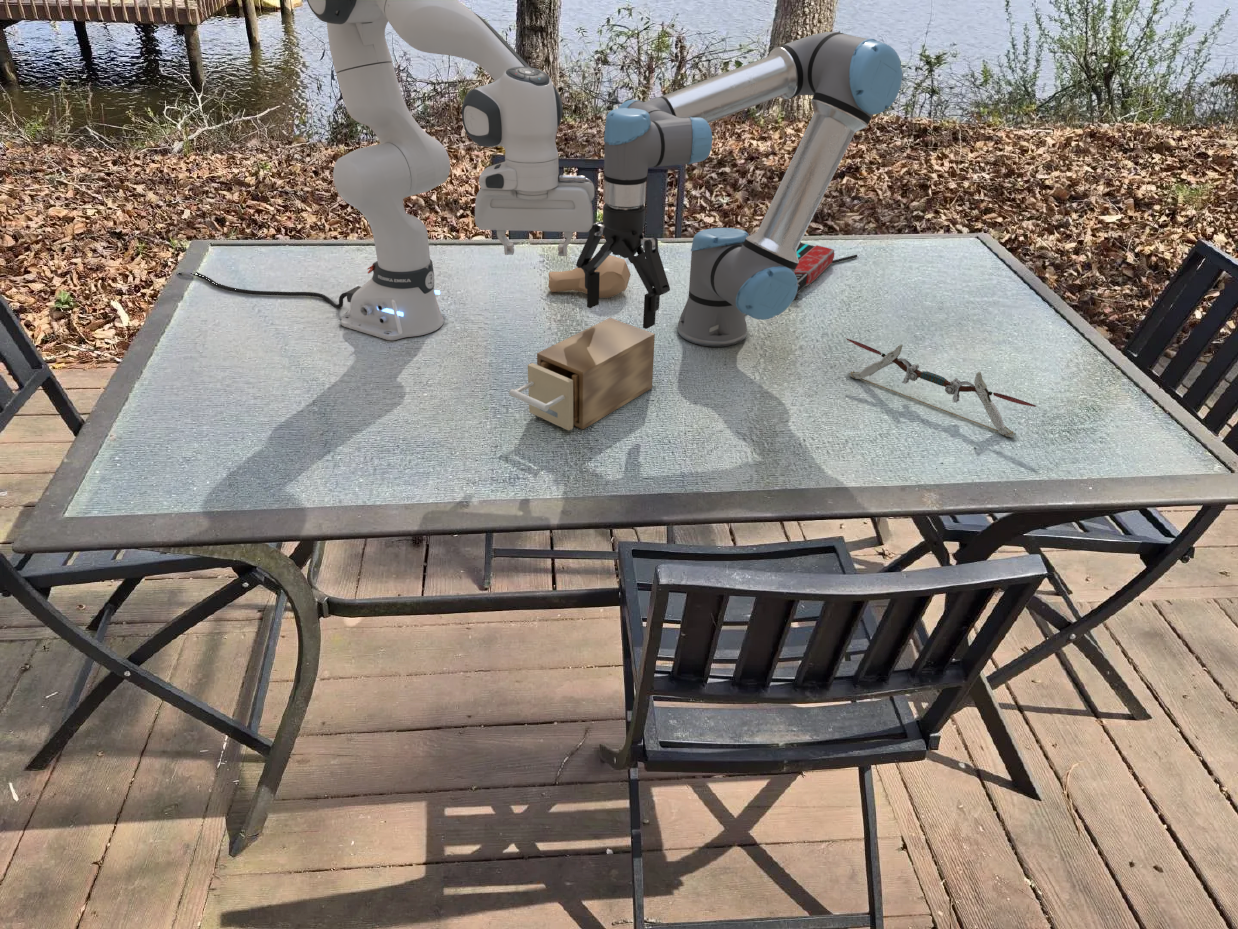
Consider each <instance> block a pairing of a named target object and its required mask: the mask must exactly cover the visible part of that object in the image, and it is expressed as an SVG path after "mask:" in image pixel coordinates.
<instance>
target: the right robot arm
mask: <svg viewBox="0 0 1238 929" xmlns="http://www.w3.org/2000/svg"><path fill="white" fill-rule="evenodd" d="M901 66H902V60H901V59H900V56H899V54H898V52H897V51H896V49H895V48H894V47H892V46H891V45H889V44H887V43H885V42H882V41H879V40H876V39H875V38H866V37H863V36H862V37H861V36H856V35H851V34H846V33H843V32H839V31H825V32H820V33H815V34H812V35H808V36H804V37H802V38H799V39H796V40H794V41H791V42H787V43H784V44H782V45H780V46H777V47H774V48H772V50H771V51H770V52H769V54H768V56H766V57H763V58H760V59H758V60H756V61H752V62H750V63H747V64H745V65H742V66H740V67H736V68H734V69H731V70H729V71H725V72H722V73H721V74H718V75H715V76H712V77H709V78H707V79H704V80H701V81H699V82H695V83H694V84H691V85H688V86H685V87H682V88H680V89H676V90H675V91H672V92H669V93H666V94H664V95H660V96H658V97H654V98H652V99H649V100H647V101H643V100H640V99H629V100H626V101H624V102H623V103H621V104H620V105H619V106H618V108H614V109H612V110H610V111H609V112H608V113H607V114H606V117H605V124H604V134H603V135H604V136H603V143H604V147H603V148H604V151H603V152H604V153H603V156H604V157H603V159H604V160H603V169H604V170H603V186H602V188H603V189H602V201H603V202H604V204H603V205H602V220H599V221H596V222H593V226H592V228H591V229H590V230H589V231H588V237H587V239H586V241H585V243H584V246H583V247H582V250H581V251H580V254H579V256H578V259H577V260H576V264H575V265H576V268H577V267H578V268H581V269H583V271H584V273H585V288H586V289H587V294H586V308H588V309H592V308H594V307H597V306H598V305H600V298H599V281H600V272H597V271H596V272H595V270H597V268H598V267H599V266H600V265H601V264H602V262H603V261H604V260H605V259H606V258H607V257H608V256H609V255H611V254H612V255H613V256H620V258H622V259H627V260H628V262H629V263H631V264H632V265H633V267H634V269H635V271H636V273H637V274H638V277H639V279H640V280H641V282H642V284H643V286H644V287H645V290H646V292H647V293H645V294H644V298H643V299H644V300H643V320H642V329H644V330H647V329H649V328H651V327H653V326H655V325H656V316H657V315H656V314H657V313H656V312H657V311H659V309H660V302H661V301H660V299H661V296H662V295H665V294H666V293H668V292H670V291H671V287H670V284H669V281H668V277H667V274H666V271H665V268H664V264H663V261H662V258H661V255H660V252H659V240H658V237H656V236H654V237H650V238H648V237H644V228H645V225H646V209H647V208H646V206H645V205H644V204H646V202H647V186H648V184H647V183H648V174H649V172H648V171H649V168H657V167H659V168H660V167H667V166H668V167H669V166H670V167H671V166H681V165H691V164H696V163H701V162H704V161H705V160H706V159H707V158H708V157H709V156H710V154H711V151H712V148H713V132H712V128H711V126H710V124H711V123H713V122H716V121H718V120H722V119H724V118H726V117H729V116H732V115H735V114H737V113H739V112H742V111H745V110H748V109H750V108H753V107H756V106H759V105H761V104H763V103H766V102H769V101H771V100H774V99H777V98H780V99H783V100H789V99H792V98H794V97H798V96H812V98H811V100H810V104H811V106H812V109H813V115H812V117H811V119H810V121H809V122H808V125H807V127H806V129H805V132H804V134H803V135H802V138H801V140H800V141H799V144H798V146H797V148H796V150H795V152H794V154H793V156H792V159H791V161H790V162H789V164H788V167H787V169H786V171H785V173H784V175H783V177H782V179H781V181H780V183H779V186H778V188H777V190H776V192H775V194H774V196H773V198H772V200H771V202H770V204H769V207H768V208H767V211H766V213H765V215H764V217H763V219H762V221H761V223H760V225H759V227H758V229H757V232H755V233H753V234H751V235H749V232H747V231H746V230H744V229H740V228H733V227H713V228H712V227H711V228H706V229H702V230H700V231H698V232H696V233H695V235H694V236H693V239H692V244H691V248H690V252H691V253H690V254H691V257H690V268H689V284H688V297H687V300H686V302H685V305H684V307H683V310H682V312H681V315H680V316H679V319H678V323H677V332H678V335H679V336H680V337H681V338H682V339H684V340H685V341H687V342H690V343H692V344H695V345H698V346H704V347H712V348H719V347H729V346H733V345H737V344H739V343H741V342H743V341H744V340H745V339H746V337H747V332H748V331H747V330H748V326H747V321H746V315H747V316H749V317H750V318H752V319H755V320H759V321H765V320H766V321H767V320H770V319H773V318H774V317H776V316H779V315H781V314H782V313H784V312H785V311H786V310H787V309H788V308H789V307H790V306H791V304H792V303H793V301H794V300H795V299H794V298H795V296H796V293H797V290H798V285H797V282H798V280H797V277H796V275H795V274H794V271H795V269H796V267H797V265H798V263H799V260H798V257H797V253H796V250H797V248H798V246H799V244H800V242H801V243H802V240H803V238H804V236H805V234H806V232H807V230H808V228H809V226H810V225H811V222H812V220H813V219H814V216H815V214H816V212H817V210H818V208H819V206H820V204H821V202H822V199H823V198H824V196H825V194H826V192H827V190H828V188H829V186H830V184H831V182H832V180H833V178H834V176H835V174H836V172H837V169H838V168H839V166H840V164H841V162H842V160H843V159H844V158H843V157H844V156H845V153H846V151H847V150H848V148H849V146H850V144H851V143H852V140H853V138H854V136H855V134H856V133H857V132H859V131H861V130H864V129H866V128H867V127H868V126H869V124H870V122H871V120H872V118H873V116H874V115H877V114H881V113H883V112H885V110H886V109H890V107H891V106H892V105H893V103H894V102H895V101H896V99H897V97H898V95H899V93H900V90H901V88H902V82H903V69H902V67H901ZM602 237H603V238H604V240H605V242H604V243H603V244H602V246H600V248H599V250H598V251H597V253H595V252H596V249H597V248H598V246H599V243H600V241H601V239H602ZM594 254H595V255H594ZM591 258H592V260H591ZM857 258H858V254H853V255H849V256H845V257H841V258H837V259H833V261H832V263H831V264H830V265H832V264H837V263H840V262H844V261H848V260H852V259H857Z"/></svg>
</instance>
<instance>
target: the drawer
mask: <svg viewBox="0 0 1238 929" xmlns="http://www.w3.org/2000/svg"><path fill="white" fill-rule="evenodd" d="M526 390H528V395H527V394H525V393H523V392H524V391H526ZM508 395H509V396H510V397H513V398H515V399H517V400H519V401H522V402H523V403H525V404H528V411H529V412H528V413H530V414H531V415H534V416H536V417H538V418H541V419H543V420H545V421H547V422H549V423H552V424H553V425H555V426H558V427H560V428H562V429H564V430H567V431H572V430H573V429H574V425H573V421H574V422H576V421H578V420H579V375H578V374H575V373H573V372H570V371H568V370H566V369H563V368H561V367H558V366H556V365H554V364H551V363H549V362H546V361H543V362H541V366H538V365H537V363H534V362H531V363H529V364H527V383H526V384H524V385H521V386H520V387H518V388H515V389H514V388H511V389H510V390H509V392H508Z"/></svg>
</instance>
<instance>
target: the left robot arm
mask: <svg viewBox="0 0 1238 929" xmlns="http://www.w3.org/2000/svg"><path fill="white" fill-rule="evenodd" d="M306 2H307V5H308V7H309V9H310V11H311V12H312V13H313V15H314V16H316V18H318V19H319V21H321V22H323V23H326V29H327V38H328V44H329V50H330V55H331V60H332V64H333V68H334V72H335V75H336V78H337V82H338V85H339V88H340V92H341V94H342V99H343V102H344V106H345V109H346V111H347V113H348V115H349V116H350V117H351V118H352V119H353V121H355V122H357V123H359V124H362V125H364V126H367V127H368V128H369V129H371V130H372V132H373V133H374V134H375V135H376V137H377V139H378V141H379V143H378V144H374V145H369V146H365V147H359V148H357V149H355V150H352V151H350V152H348V153H345V154H344V155H342V156H341V157H339V158H337V160H336V161H335V164H334V165H333V171H332V177H333V178H332V179H333V184H334V188H335V190H336V192H337V193H338V195H339V196H340V197H341V199H342V200H343V201H344V202H345V203H347V204H348V205H350V206H351V207H354V208H355V209H356V210H357V211H359V212H360V213H361V214H362V215H363V217H364V218H365V220H366V221H367V223H368V225H369V228H370V230H371V233H372V237H373V243H374V248H375V253H376V254H375V255H376V261H374V262H373V263H372V265H371V266H369V267H368V268H367V274H370V273H372V277H371V278H370V279H369V280H367V282H365V283H364V284H363V285H362V286H359V285H358V286H355V287H353V288H351V289H349V290H347V291H344V292H343V293H341V294H339V297H338V304H336V303H335V302H334V301H333V300H331V298H330V297H329V296H327V295H325V294H323V293H320V292H313V291H279V290H278V291H275V290H274V291H273V290H252V289H243V288H237V287H234V286H233V287H232V286H229V285H226V284H222V285H221V283H219V282H217V281H215V280H213V279H212V278H211V277H209V276H207V275H205V274H202V273H200V272H197V271H196V273H197V274H198V275H195V274H192V273H190V274H191V275H192V276H195V277H197V278H199V279H201V280H204V281H206V282H207V283H209V284H211V285H212V286H214V287H215V288H218V289H221V290H224V291H228V292H231V293H238V294H244V295H255V296H279V297H281V296H282V297H315V298H319V299H322V300H324V301H325V302H326V303H328V304H329V305H331V306H332V307H333V308H334V309H342V308H343V306H344V299H345V298H346V301H347V303H350V305H349V310H347V311H346V313H344V314H343V316H342V317H341V320H340V324H341V326H342V327H344V328H347V329H350V330H354V331H357V332H360V333H364V334H367V335H370V336H373V337H377V338H380V339H383V340H387V341H396V340H397V341H398V340H401V339H404V338H412V337H420V336H423V335H427V334H430V333H431V334H432V333H434V332H436V331H437V330H439V329H441V327H442V326H443V325H444V323H445V320H444V317H443V314H442V312H441V310H440V307H439V303H438V300H437V296H436V295H438V296H439V295H441V290H439V289H435V271H434V264H433V260H432V259H431V253H430V245H429V244H430V243H429V232H428V229H427V226H426V225H425V223H424V222H423V221H422V220H421V219H420V218H419V217H417V216H415V215H412V214H409V213H407V211H406V209H405V204H404V199H405V198H408V197H413V196H416V195H421V194H424V193H427V192H430V191H432V190H434V189H435V188H437V187H439V186H441V185H443V184H444V183H445V182H446V181H447V180H448V179H449V176H450V172H451V159H450V157H449V156H450V155H449V154H448V151H447V149H446V148H445V146H444V145H443V144H442V143H441V142H440V141H439V140H438V139H436V138H435V137H433V136H431V135H430V134H429V133H427V132H426V131H425V130H424V129H423V128H422V127H421V125H419V124H418V122H417V121H416V120H415V118H414V116H413V114H411V112H410V109H409V108H408V105H407V103H406V101H405V99H404V96H403V92H402V90H401V86H400V84H399V80H398V76H397V73H396V70H395V66H394V63H393V59H392V56H391V52H390V48H389V46H388V44H387V38H386V34H385V33H386V27H387V25H388V23H389V25H390V26H391V28H392V29H393V30H394V31H395V33H396V34H397V35H398V36H399V37H400V39H402V41H404V42H405V43H406V44H407V45H409V46H410V47H411V48H413V49H415V50H416V51H420V52H423V53H427V54H433V55H435V54H436V55H443V56H444V55H445V56H450V57H455V58H456V57H457V58H461V59H465V60H467V61H470V62H473V63H475V64H476V65H478V66H480V67H481V68H482V69H483V70H484V71H485V72H486V73H487V74H488V75H489V76H490V77H491V78H492V79H493V80H494V81H493V82H490V83H488V84H484V85H481V86H478V87H475V88H473V89H470V90H469V91H468V92H467V93H466V95H465V97H464V99H463V102H462V105H461V120H462V125H463V129H464V131H465V133H466V135H467V136H468V138H470V140H472V142H474V143H475V145H478V146H480V147H486V148H494V147H502V148H503V149H504V151H505V152H504V154H505V155H504V161H502V162H499V163H496V164H492V165H489V166H487V167H486V168H484V169H483V170H482V172H481V173H480V175H479V177H478V184H479V187H480V189H479V190H478V192H477V193H476V196H475V202H474V223H475V226H476V227H477V228H478V229H479V230H481V231H496V237H497V239H498V240H499V241H500V243H501V244H502V246H503V253H504V255H505V256H513V255H514V254H515V248H514V247H515V242H510V241H509V239H508V238H507V236H506V234H507V233H508V231H512V232H513V231H514V232H515V231H516V232H554V233H555V232H558V233H560V232H562V233H563V237H564V239H565V240H564V242H562V243H558V246H557V256H558V257H567V256H568V246H569V244H570V243H571V241H572V239H573V237H574V233H589V232H590V229H591V228H592V226H593V224H594V210H593V204H592V202H593V201H594V199H595V196H596V194H595V191H596V190H595V184H594V182H593V181H592V180H591V179H590V178H587V177H586V175H571V174H570V175H569V174H560V170H559V169H560V166H559V151H558V149H557V144H556V140H557V134H558V133H557V132H558V129H559V127H560V124H561V122H562V119H563V112H564V106H563V101H562V97H561V95H560V92H559V91H558V89H557V88H556V87H555V84H553V81H552V78H551V76H550V75H549V74H547V73H546V72H545V71H543V70H541V69H538V68H536V67H531V66H530V65H529V64H528V63H527V62H526V61H525V60H524V59H523V58H522V57H521V56H520V55H519V54H518V52H516V51H515V49H514V48H513V47H512V46H511V45H510V44H509V42H507V41H506V40H505V39H504V38H503V37H502V35H500V34H499V33H498V32H497V30H496V29H495V28H494V27H493V26H492V25H491V24H490V23H489V22H487V21H486V20H485V19H484V18H483V17H482V16H480V15H479V14H477V13H476V12H475V11H473V10H471V9H469V8H468V7H466V5H464V4H463V3H462V2H460V1H459V0H306ZM176 275H178V274H177V272H176ZM199 275H201V276H199ZM202 276H204V277H202ZM206 276H207V277H206ZM208 277H209V278H208ZM206 278H207V279H206ZM208 279H209V280H210V281H209V280H208ZM212 282H214V283H215V284H214V283H212ZM216 282H217V283H216ZM218 283H219V284H218ZM216 284H217V285H216ZM235 289H236V290H235Z"/></svg>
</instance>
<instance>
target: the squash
mask: <svg viewBox="0 0 1238 929" xmlns="http://www.w3.org/2000/svg"><path fill="white" fill-rule="evenodd" d="M592 258H593V257H592ZM592 258H591V260H592ZM596 271H597V272H600V281H599V299H606V298H609V299H610V298H613V297H615V296H617V295H619V294H621V293H623V292H626V290H627V288H628V286H629V282H630V279H631V272H630V269H629V266H628V263H627V261H626V259H625V258H622V257H618V256H616V255H611V254H610V255H609V256H608V257H607V258H606V259H605V260H604V261H603V262H602V264H601V265H600V266H599V267H598V268H597V270H595V272H596ZM547 288H548V289H549V290H550V292H551V293H560V292H571V291H572V292H573V291H574V292H579V293H583V294H586V295H587V289H586V288H585V273H584V271H583V269H581V268H578V267H577V266H576V267H575V268H574V269H571V270H563V271H562V270H561V271H550V272H548V284H547Z"/></svg>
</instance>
